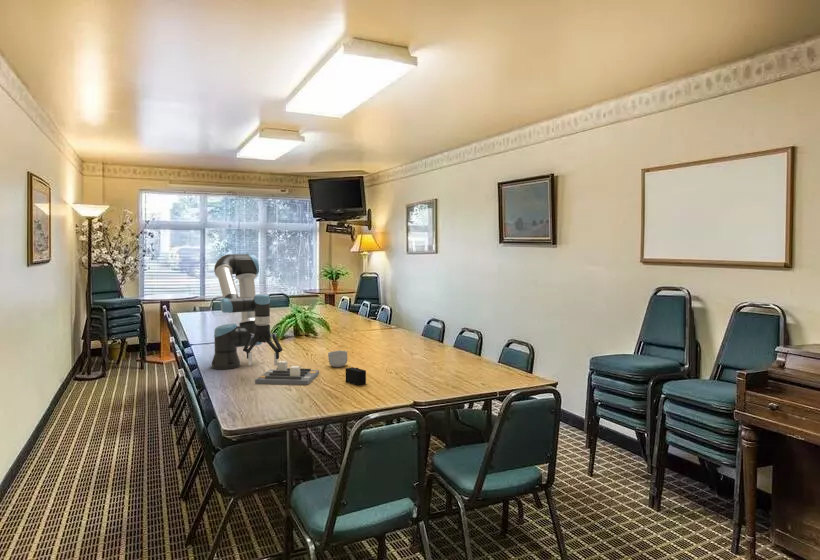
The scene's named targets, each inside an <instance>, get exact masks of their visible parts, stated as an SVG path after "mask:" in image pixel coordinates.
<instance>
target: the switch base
mask: <svg viewBox="0 0 820 560" xmlns="http://www.w3.org/2000/svg"><path fill="white" fill-rule="evenodd" d="M319 375H320V370H318V369H316V370H315V369H312V368H301V367H300V376H290V367H287V371H277V369H273V368H271V369H269V370H268V371H266V372H265V373H263V374H261V375H260V376H259V377H257V378H256V379H254V380H255V381H254V383H255V384H254V385H291V386H292V385H293V386H296V385H298V386H299V385H301V386H309V384H311V382H313V381H314V379H316V378H317V376H319Z"/></svg>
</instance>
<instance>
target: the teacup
mask: <svg viewBox="0 0 820 560" xmlns="http://www.w3.org/2000/svg"><path fill="white" fill-rule="evenodd" d="M327 358H328V363H329V365H330V366H331V367H333V368H341V367H342V368H343V367H345V365H346V364H347V363H348V351H347V350H333V351H329V352H327Z"/></svg>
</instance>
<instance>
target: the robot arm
mask: <svg viewBox="0 0 820 560" xmlns="http://www.w3.org/2000/svg"><path fill="white" fill-rule="evenodd" d="M259 263H260V262H259V260H258V258H257V256H256V255H255V254H249V253H243V254H240V253H239V254H234V253H233V254H231V253H230V254H225V255H223V256H221V257H220V258H219V259H217V261H216V262H215V264H214V269H213V272H214V275H215V276H216V278H217V280H218V283H219V286H220V290H221V291H220V292H221V294H222V298H221V299H220V311H221V312H222V313H225V314H226V313H228V314H231V313H241V320H240V322H239V325H238V326H237V324H236V323H227V324H222V325H218V326H216V328H214V335H213V338H214V355H213V358H212V362H211V368H212V369H214V370H231V369H236V368H240V367H241V360H240V357H239V355H238V351H237V349H238V348H242V347H243V349H242V352H245V353H246V359H248V362H247V363H248V366H251V365H253V353H252V350H253V349H254V347H255V346H260V345H262V344H263V343H265V344H266V343H267V344H268V345H269V347H270V348H271V349H272V350H273V352H274V353H273V365H274V367H276V366H277V362H278V360H279V358H280V353H281V352H283V350H284V349H283V347H282V346H281V343H280V341H279V339H278V337H277V333H271V325H270V323H271V316H270V315H271V314H270V313H271V312H270V311H271V310H270V309H271V304H270V302H271V300H270V295H269V294H262V293H261V294H256V286H255V279H256V277H257V275H258V274H259V272H260V264H259ZM233 275H235V278H236V279H237V280H238V287H239V293H238V290H237V287H236V284H235V279H234V277H233ZM272 340H273V341H272Z"/></svg>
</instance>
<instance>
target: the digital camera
mask: <svg viewBox="0 0 820 560" xmlns="http://www.w3.org/2000/svg"><path fill="white" fill-rule="evenodd" d="M345 383H347V384H351V385H354V386H358V387H360V386H365V385H366V384H367V371H366V369H360V368H359V367H354V366H353V367H346V368H345Z"/></svg>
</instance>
